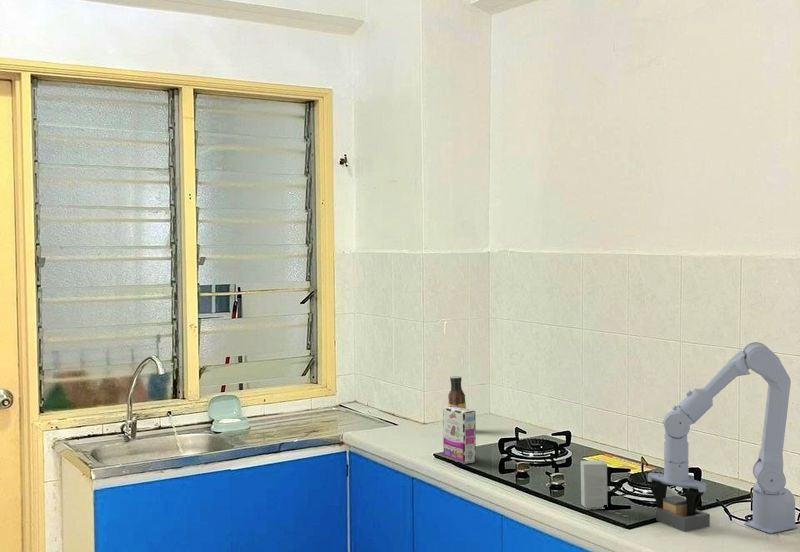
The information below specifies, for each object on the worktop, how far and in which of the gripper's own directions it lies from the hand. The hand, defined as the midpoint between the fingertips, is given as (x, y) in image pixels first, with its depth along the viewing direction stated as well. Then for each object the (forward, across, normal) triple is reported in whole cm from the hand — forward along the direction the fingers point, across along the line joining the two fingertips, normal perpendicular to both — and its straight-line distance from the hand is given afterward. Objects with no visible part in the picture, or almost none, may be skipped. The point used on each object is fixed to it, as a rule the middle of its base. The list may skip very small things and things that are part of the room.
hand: (676, 515), depth 221 cm
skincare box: (+2, +21, +5) cm, 21 cm away
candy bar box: (+2, +78, -9) cm, 79 cm away
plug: (+2, 0, 0) cm, 2 cm away
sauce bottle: (+2, +106, -39) cm, 113 cm away
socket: (+1, -1, -1) cm, 2 cm away
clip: (+1, +6, -10) cm, 11 cm away
